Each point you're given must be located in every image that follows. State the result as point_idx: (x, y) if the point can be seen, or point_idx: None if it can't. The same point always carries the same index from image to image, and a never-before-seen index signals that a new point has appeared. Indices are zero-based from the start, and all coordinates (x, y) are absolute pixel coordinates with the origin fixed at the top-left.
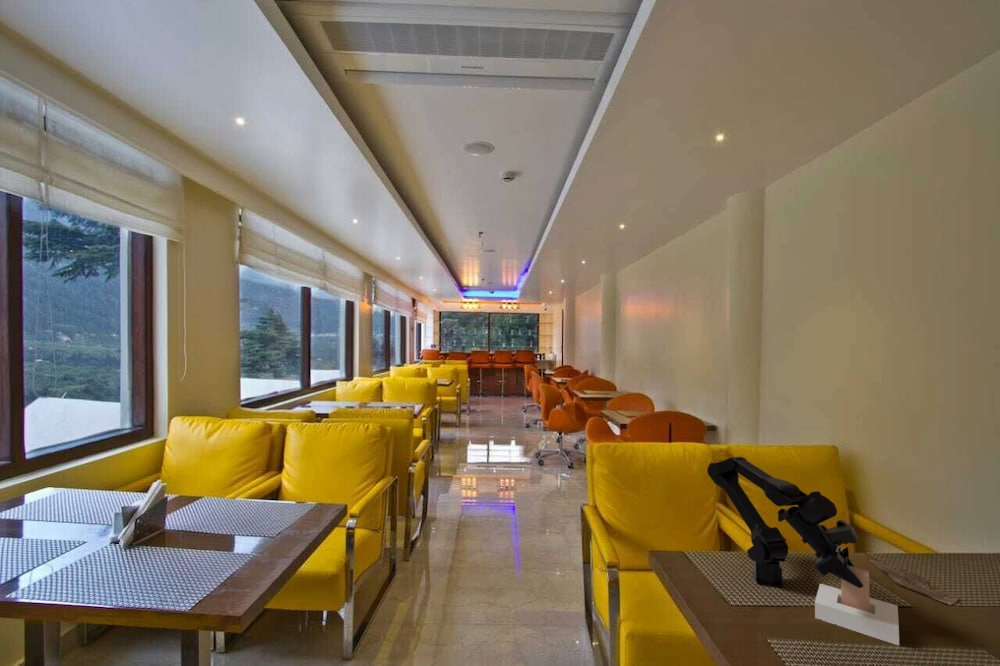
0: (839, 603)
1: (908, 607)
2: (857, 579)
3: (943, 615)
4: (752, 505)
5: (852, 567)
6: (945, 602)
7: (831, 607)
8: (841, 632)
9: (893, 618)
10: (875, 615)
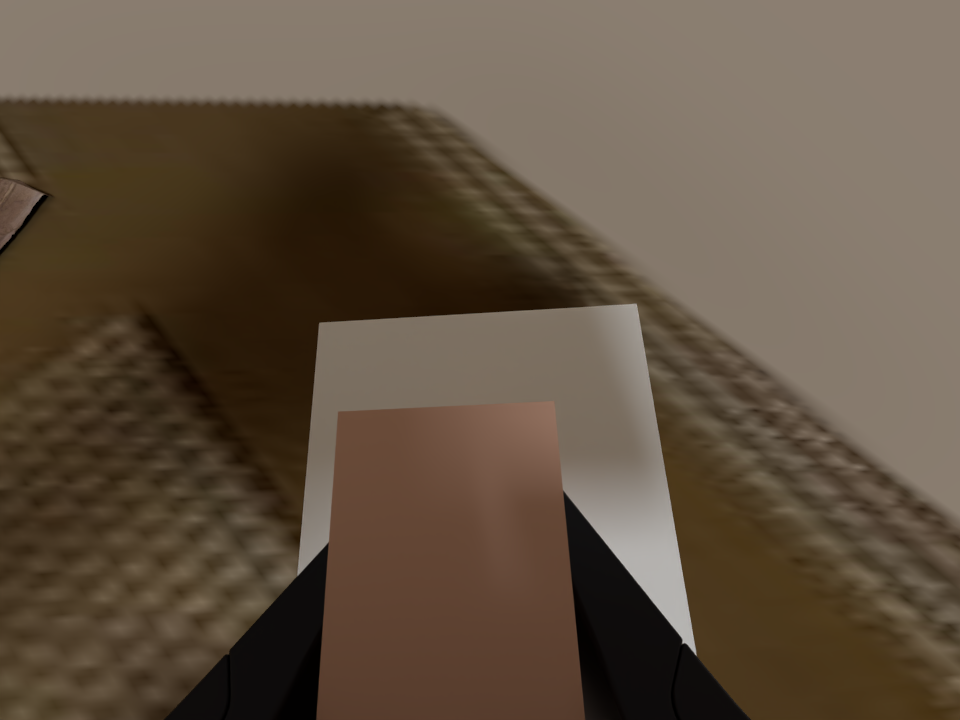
0: None
1: (158, 325)
2: (615, 557)
3: (162, 214)
4: None
5: (374, 690)
6: (28, 205)
7: None
8: (718, 593)
9: (525, 332)
10: (570, 419)
